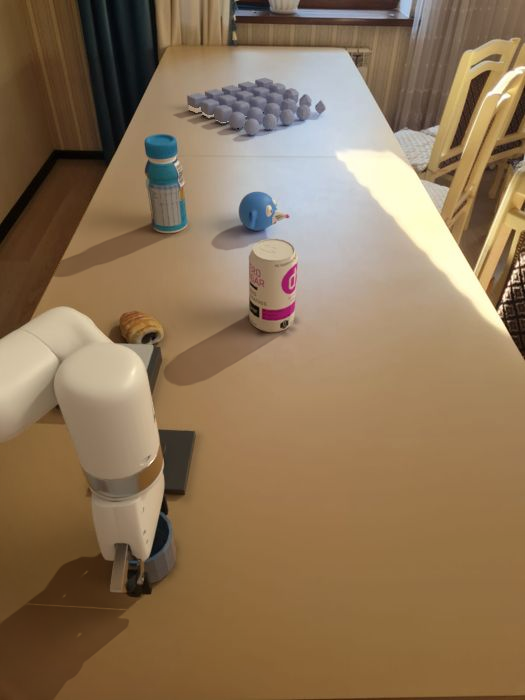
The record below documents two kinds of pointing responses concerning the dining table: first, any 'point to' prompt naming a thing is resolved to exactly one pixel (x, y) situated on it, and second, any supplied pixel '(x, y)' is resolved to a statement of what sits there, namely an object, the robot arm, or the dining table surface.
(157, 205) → the beverage bottle
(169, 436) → the block
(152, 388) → the scale
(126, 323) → the pastry
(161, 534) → the bowl
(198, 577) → the dining table surface
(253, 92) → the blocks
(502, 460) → the dining table surface
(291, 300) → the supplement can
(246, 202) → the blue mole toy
